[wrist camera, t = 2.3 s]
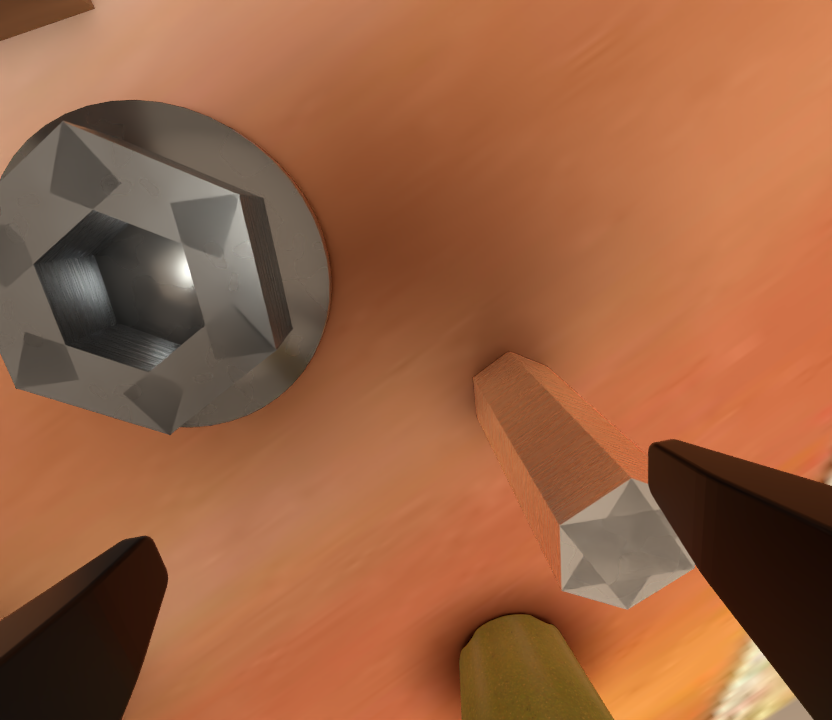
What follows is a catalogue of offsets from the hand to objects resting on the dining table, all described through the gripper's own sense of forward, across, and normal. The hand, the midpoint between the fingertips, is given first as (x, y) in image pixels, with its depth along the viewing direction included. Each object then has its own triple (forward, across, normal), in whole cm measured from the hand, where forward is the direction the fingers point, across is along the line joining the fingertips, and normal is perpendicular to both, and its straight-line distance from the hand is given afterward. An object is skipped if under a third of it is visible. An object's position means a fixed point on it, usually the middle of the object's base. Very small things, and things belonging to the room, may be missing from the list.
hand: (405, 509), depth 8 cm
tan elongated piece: (+12, -5, +4) cm, 13 cm away
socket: (+12, +8, -4) cm, 15 cm away
